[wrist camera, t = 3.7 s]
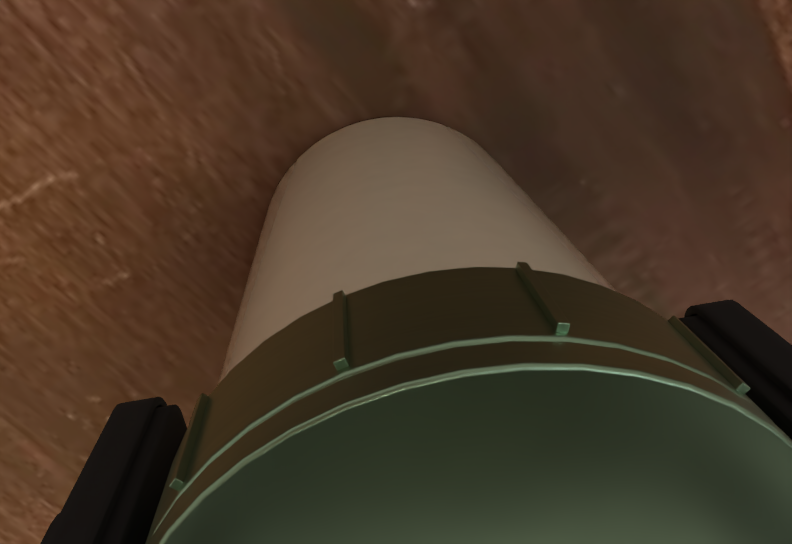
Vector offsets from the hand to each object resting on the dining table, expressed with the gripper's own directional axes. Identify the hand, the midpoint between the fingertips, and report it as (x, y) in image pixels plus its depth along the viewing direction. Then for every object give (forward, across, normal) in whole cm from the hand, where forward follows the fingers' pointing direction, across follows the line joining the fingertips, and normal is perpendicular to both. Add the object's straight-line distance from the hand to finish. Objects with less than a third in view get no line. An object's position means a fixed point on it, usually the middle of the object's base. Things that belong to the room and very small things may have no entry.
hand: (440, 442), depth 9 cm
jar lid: (-3, 0, 0) cm, 3 cm away
